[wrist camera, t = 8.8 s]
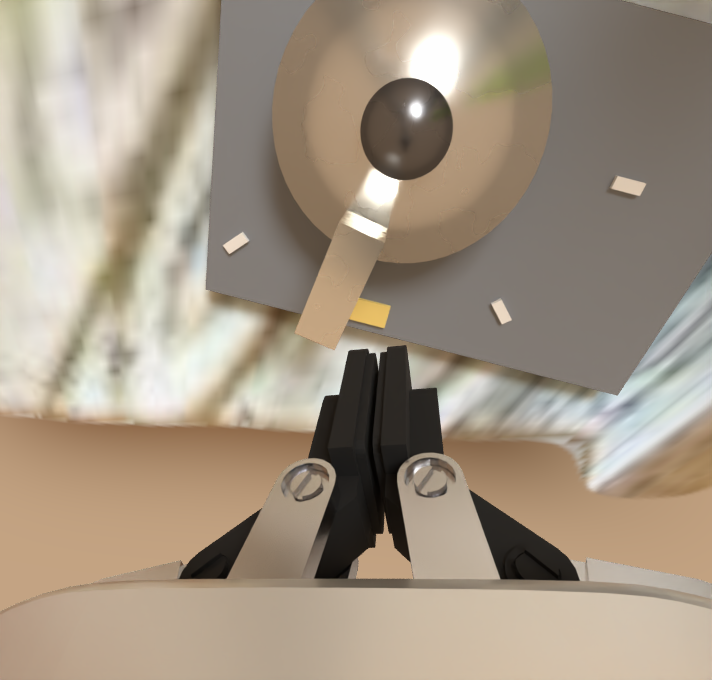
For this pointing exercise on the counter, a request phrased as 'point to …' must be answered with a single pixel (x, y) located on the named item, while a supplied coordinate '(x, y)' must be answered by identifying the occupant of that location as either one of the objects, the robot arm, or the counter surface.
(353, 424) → the robot arm
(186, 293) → the counter surface
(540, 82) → the dial
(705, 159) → the board
